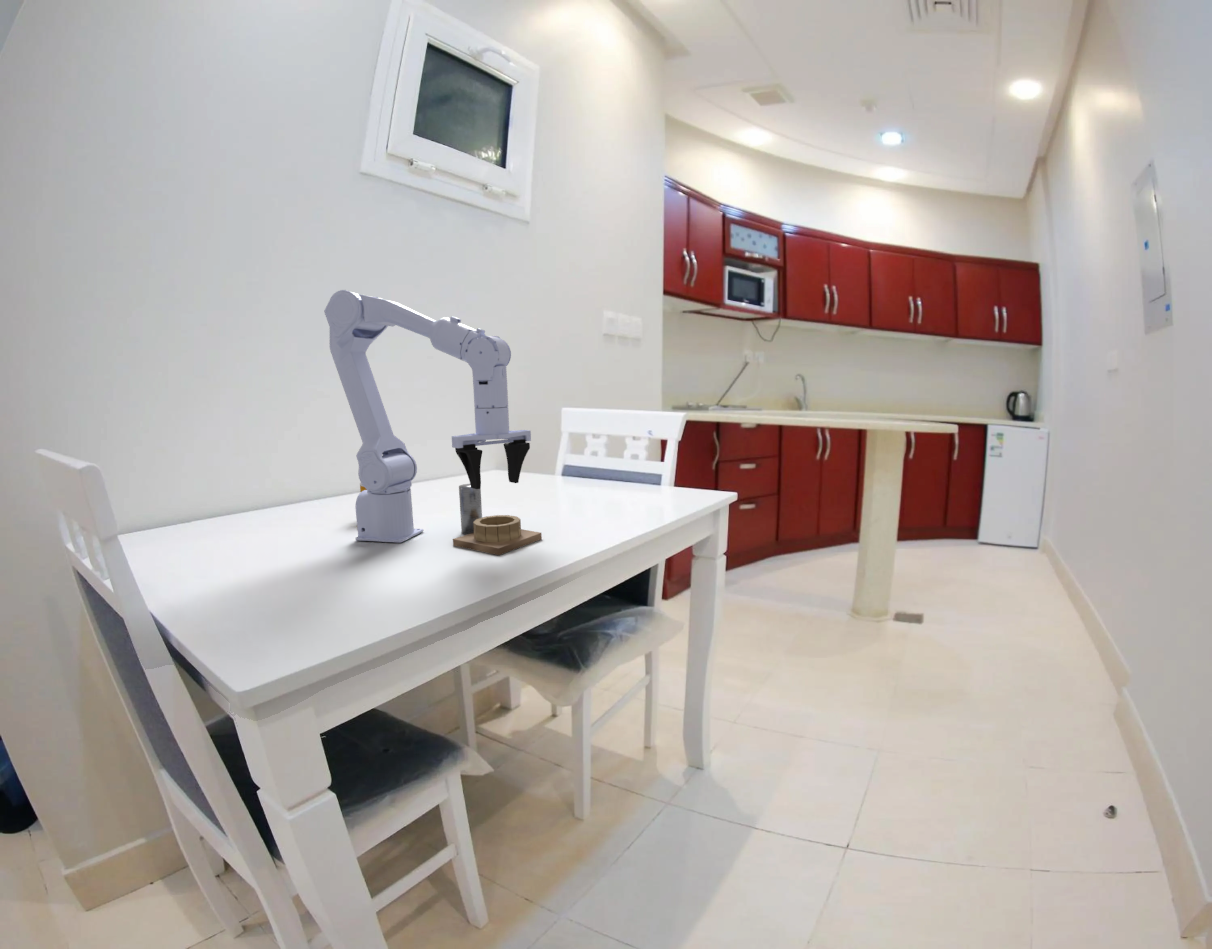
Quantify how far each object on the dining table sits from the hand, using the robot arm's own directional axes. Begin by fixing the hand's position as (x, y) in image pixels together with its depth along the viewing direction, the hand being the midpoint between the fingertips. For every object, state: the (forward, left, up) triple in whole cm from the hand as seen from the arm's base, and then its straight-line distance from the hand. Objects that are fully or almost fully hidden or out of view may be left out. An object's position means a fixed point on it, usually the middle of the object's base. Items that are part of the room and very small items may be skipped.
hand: (495, 485), depth 99 cm
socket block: (0, 0, -10) cm, 10 cm away
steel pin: (-8, +6, -10) cm, 14 cm away
